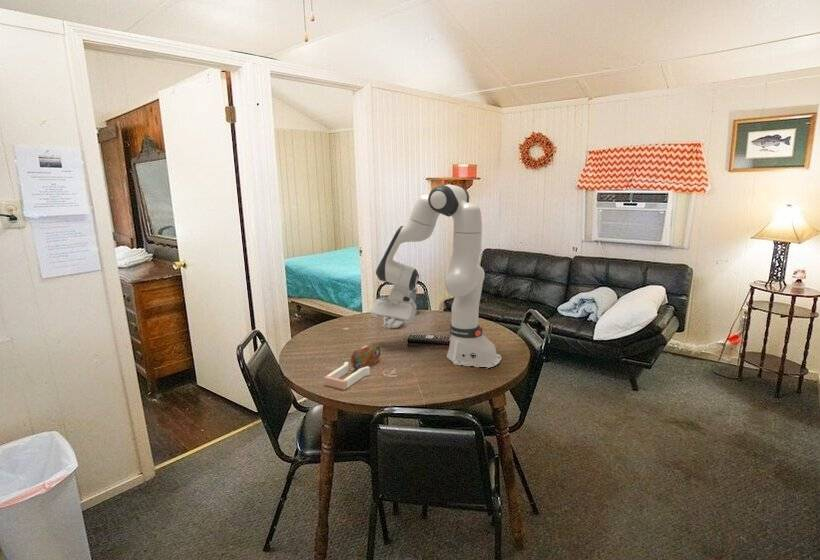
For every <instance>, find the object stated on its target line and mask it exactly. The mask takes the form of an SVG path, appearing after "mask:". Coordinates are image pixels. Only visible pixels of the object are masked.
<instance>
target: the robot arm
mask: <svg viewBox="0 0 820 560" xmlns="http://www.w3.org/2000/svg"><path fill="white" fill-rule="evenodd" d="M440 215H443V216H446V217H452V219H453V233H452V234H453V235H452V236H453V237H452V239H453V240H452V253H451V259H450V262H449V266H448V271H447V272H448V273H447V275H446V279H445V281H444V287H445V290H446V291H447V293H448V295H449V294H450V295H451V296H453V300H452V301H453V302H452V304H451V311H450V312H451V316H450V317H451V323H450V326H449V337H450V339H449V340H450V341H449V346H448V351H447V354H446V358H447V359H448V360H450V361H451V362H452V364H453V365H455V366H461V365H463V366H464V367H470V366H474V367H473V368H479V367H488V368H489V367H493V366H495V365H497V364H498V363H499V362H500V360H501V361H502V356H501V355H500V354H499V353H497V349H496V345H495V344H494V343H493V342H492V341H491V340H490V339H488V338H487V337H486V336H485V335H484V334H483V332H484V331H483V330H484V326H482V327H481V326H480V324H479V312H480V310H479V307H480V301H481V296H482V290H483V284H484V280H485V274H486V273H485V270H484V268H483V267H482V266H481V265H479V264H478V262H479V257H480V255H481V252H482V233H483V229H482V228H483V226H482V225H483V223H482V212H481V209H480V207H479V206H478V205H477V204H476V203H473V202H470V195H469V192H468V190H467V189H466V188H464V187H463V186H461V185H458V184H457V185H456V184H455V185H453V184H443V185H442V184H441V185H440V184H439V185H438V186H435V187H434V188H433V189H432V190H431V191H430V192H429V193H424V194H421V195H420V196H419V197H418V198H417V200H416V202H415V203H414V206H413V208H412V210H411V213H410V216H409V219H408V221H407V222H406V224H404V225H400V226H399V228H397V230H396V231H395V233H394V235H393V237H392V239H391V240H390V242H389V245H388V247H387V249H386V251H385V253H384V255H383V256H382V258H381V260H379V263H378V264H377V267H376V269H375V275H376V276H377V278H378V279H379V281H382V282H385V283H389V284H393V287H392V289H391V290H390V292H389V294H388V296H387V298H385V297H379V298H377V299H376V300H375V302H374V304H373V305H372V307H371V309H370V314H371V316H372V317H375V318H379V319H383V325H382V327H383V328H385V329H389V330H390V329H392V328H391V325H393V324H394V323H395V322H396V321H401V322H403V323H407V324H408V323H409V324H411V323H412V322H413V321H414V319H415V316H416V315H415V309H416V310H417V304H416V301H415V302H414V301H413V300H412V299H411V298H409V295H410V292H411V291H412V290H413V289H415V287H416V286H417V284H418V281H419V279H420V274H419V272H418V270H417V269H416V268H415V267H413V266H410V265H408V264H404V263H400V262H399V261H395V260H394V256H395V255H396V254H397V251H398V249H399V247H400V246H401V244H403V243H409V242H410V243H411V242H412V243H413V242H414V243H417V242H423V241H426V240H428V239H429V238H430V237H431V236H432V235H433V233H434V230H435V227H436V224H437V221H438V219H439V216H440ZM416 288H417V287H416ZM389 319H390V320H391V321H390V322H389V323H387V321H388V320H389ZM498 357H500V358H498ZM500 363H501V362H500ZM463 366H462V367H463ZM488 368H487V369H488Z"/></svg>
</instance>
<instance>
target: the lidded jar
mask: <svg viewBox="0 0 820 560" xmlns="http://www.w3.org/2000/svg"><path fill="white" fill-rule="evenodd" d="M390 321H391V320H390V319H389V320H388V321H387V323H389V322H390ZM403 323H404V322H401V321H396V322H395V323H394V324H393V325H391V328H390V329H396V328H400V327H401V326H402V325H403Z"/></svg>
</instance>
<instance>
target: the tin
mask: <svg viewBox="0 0 820 560" xmlns="http://www.w3.org/2000/svg"><path fill="white" fill-rule="evenodd" d="M380 357H381V348H380V345H378V344H376V343H367V344H365V345H364V346H361V347H359V348H357V349H355V350H353V352H352V354H351V357H350V364H351V367H352V368H353V369H354V370H356V371H357V370H358V369H360V368H363V367H367V366H369V367H371V366H374V365H375V364H376V363H377V362H379V359H380Z"/></svg>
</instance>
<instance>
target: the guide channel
mask: <svg viewBox="0 0 820 560" xmlns="http://www.w3.org/2000/svg"><path fill="white" fill-rule="evenodd" d="M349 368H350V367H349V361H344V363H343V365H341V366H340V367H338V368H336V369H334V370H333V371H332V372H330V373H329V374H327V375H326V376H324V377H323V385H324V386H328V387H331V388H335V389H339V390H344V391H346V390H347V389H348V388H350V387H351V386H353V385H354V384H356V382H358V381H359V380H362V378H364V377H367V376H370V375H371V366H367V367H363V368H360V369H358V370H357V369H356V370H355V371H354V372H353V373H351V374H350V375H348V376H347V377H345V378H343V379H341V378H342V377H343V376H344V375H346V374H348V373H349V370H350V369H349Z"/></svg>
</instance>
